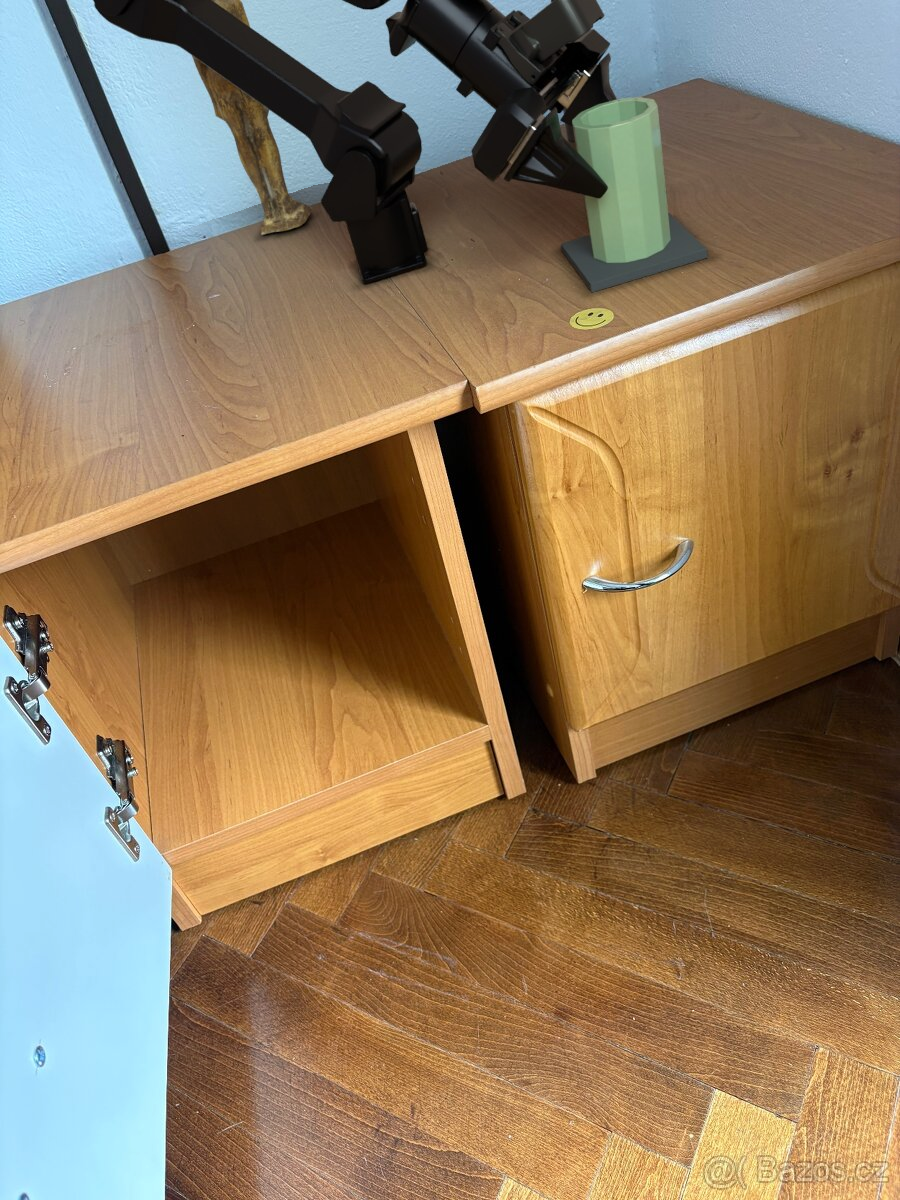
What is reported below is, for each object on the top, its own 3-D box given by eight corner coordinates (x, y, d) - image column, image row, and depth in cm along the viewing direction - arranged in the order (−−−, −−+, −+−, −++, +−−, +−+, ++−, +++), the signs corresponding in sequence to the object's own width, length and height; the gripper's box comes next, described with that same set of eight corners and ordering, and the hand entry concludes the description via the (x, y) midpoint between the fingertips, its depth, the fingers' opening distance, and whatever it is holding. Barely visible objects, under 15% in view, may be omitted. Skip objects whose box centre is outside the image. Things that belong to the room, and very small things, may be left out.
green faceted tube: (577, 252, 89) (556, 122, 82) (636, 223, 90) (621, 93, 84) (624, 269, 84) (606, 132, 77) (685, 238, 86) (673, 102, 79)
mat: (591, 292, 84) (590, 283, 83) (561, 251, 92) (560, 243, 91) (707, 257, 84) (707, 248, 83) (668, 219, 91) (667, 211, 91)
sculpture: (320, 211, 116) (222, -94, 97) (309, 233, 112) (204, -84, 93) (265, 223, 118) (159, -76, 99) (252, 245, 113) (138, -65, 94)
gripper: (476, -17, 69) (649, 135, 71) (570, -83, 81) (716, 50, 83) (406, 114, 78) (562, 247, 80) (500, 38, 89) (634, 155, 91)
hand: (622, 170), depth 83 cm, fingers open, 9 cm apart
